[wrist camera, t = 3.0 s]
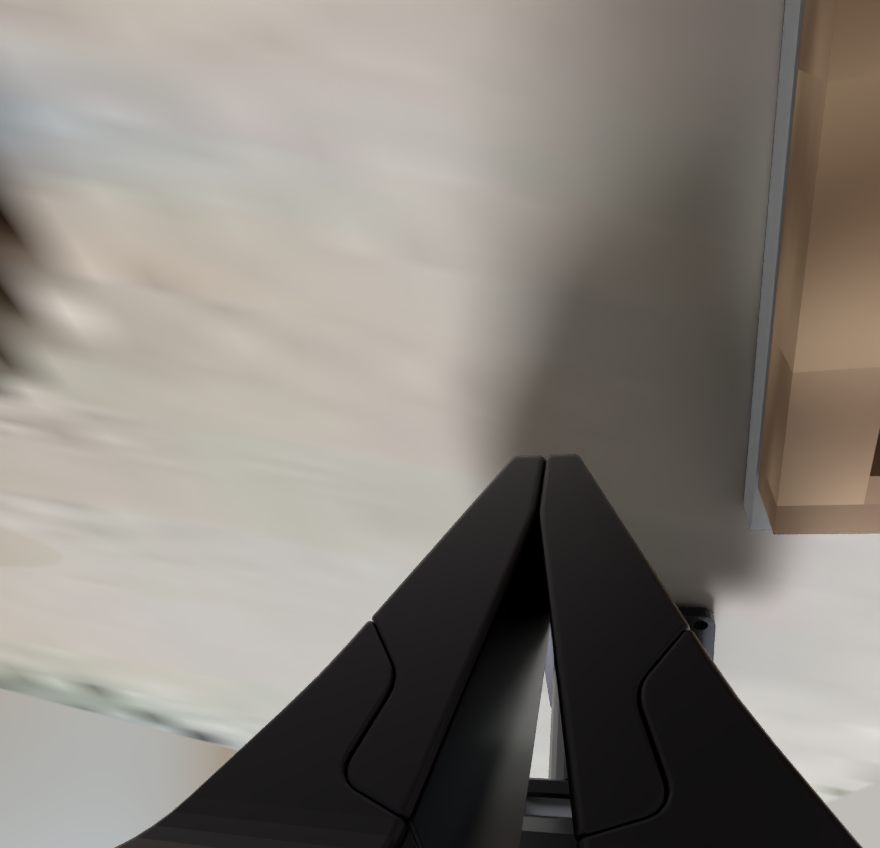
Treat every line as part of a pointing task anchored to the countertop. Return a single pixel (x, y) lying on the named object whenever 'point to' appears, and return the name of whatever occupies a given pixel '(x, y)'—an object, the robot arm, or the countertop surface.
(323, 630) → the countertop surface
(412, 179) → the countertop surface
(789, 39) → the boss board
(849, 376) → the panel
